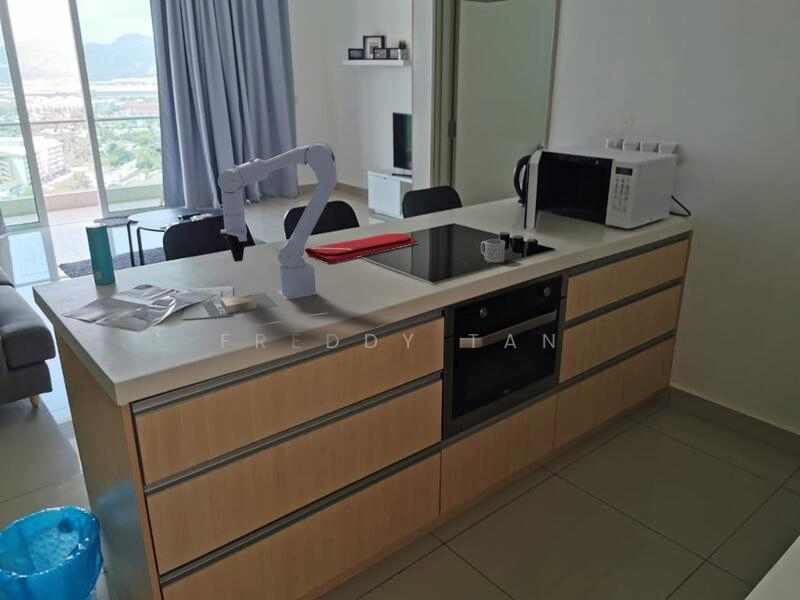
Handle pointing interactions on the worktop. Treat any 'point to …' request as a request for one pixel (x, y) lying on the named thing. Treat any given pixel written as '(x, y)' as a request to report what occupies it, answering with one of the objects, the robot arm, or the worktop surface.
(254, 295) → the rubber mat
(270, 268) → the worktop surface
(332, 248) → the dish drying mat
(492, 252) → the mug
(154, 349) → the worktop surface
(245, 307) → the maple tile
